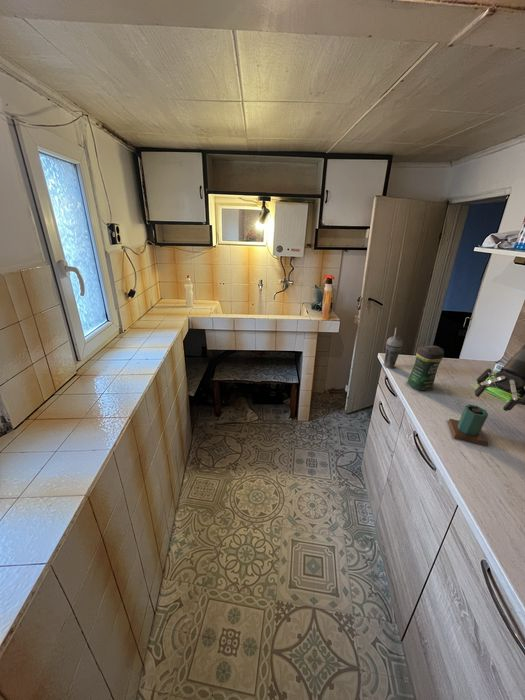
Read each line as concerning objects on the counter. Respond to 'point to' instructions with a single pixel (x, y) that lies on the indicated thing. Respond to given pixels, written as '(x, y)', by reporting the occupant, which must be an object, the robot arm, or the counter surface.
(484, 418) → the green octagonal tube
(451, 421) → the peg stand
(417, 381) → the coffee jar
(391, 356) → the beverage cup
